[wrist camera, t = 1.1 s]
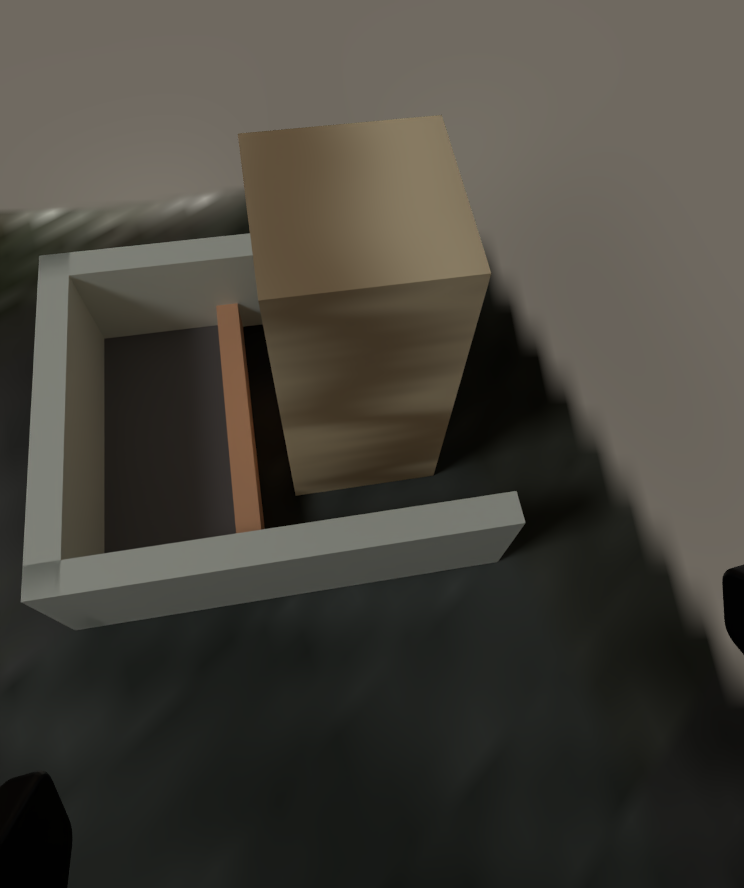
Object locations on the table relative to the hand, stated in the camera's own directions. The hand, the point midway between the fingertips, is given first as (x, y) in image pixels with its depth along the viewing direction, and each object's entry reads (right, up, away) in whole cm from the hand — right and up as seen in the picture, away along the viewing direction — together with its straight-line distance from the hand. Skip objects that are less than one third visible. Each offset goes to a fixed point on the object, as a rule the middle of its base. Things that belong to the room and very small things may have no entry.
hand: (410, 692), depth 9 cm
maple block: (-1, +4, +17) cm, 17 cm away
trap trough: (-4, +3, +16) cm, 17 cm away
